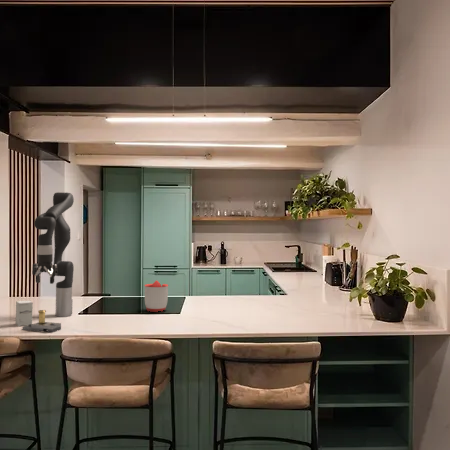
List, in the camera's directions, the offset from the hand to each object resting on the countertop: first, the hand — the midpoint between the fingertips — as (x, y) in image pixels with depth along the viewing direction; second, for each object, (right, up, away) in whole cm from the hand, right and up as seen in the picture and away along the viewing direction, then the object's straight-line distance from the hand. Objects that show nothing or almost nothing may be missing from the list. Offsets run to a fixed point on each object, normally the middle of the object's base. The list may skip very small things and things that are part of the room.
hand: (44, 283), depth 228 cm
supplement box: (-14, -24, +4) cm, 28 cm away
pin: (+1, -24, -7) cm, 25 cm away
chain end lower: (-1, -24, -6) cm, 24 cm away
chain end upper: (+4, -24, -7) cm, 25 cm away
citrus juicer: (+53, -25, +50) cm, 76 cm away
